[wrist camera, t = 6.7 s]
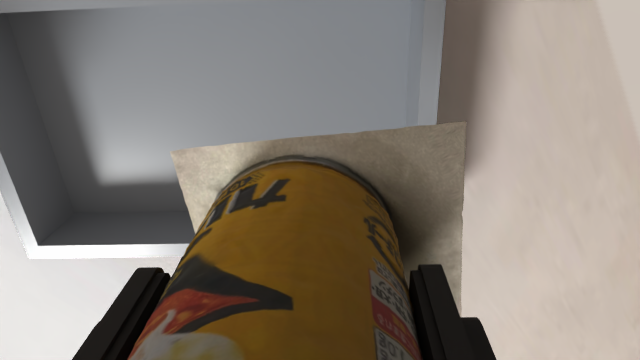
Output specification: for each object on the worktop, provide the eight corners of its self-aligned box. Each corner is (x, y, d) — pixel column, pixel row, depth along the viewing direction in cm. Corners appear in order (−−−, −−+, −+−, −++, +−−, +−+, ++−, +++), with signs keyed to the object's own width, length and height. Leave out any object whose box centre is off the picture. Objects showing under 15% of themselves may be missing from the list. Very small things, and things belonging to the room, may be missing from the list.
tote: (-8, -9, 25) (-83, -6, 21) (427, -30, 24) (448, -32, 20) (71, 219, 32) (28, 258, 28) (413, 213, 31) (426, 253, 26)
